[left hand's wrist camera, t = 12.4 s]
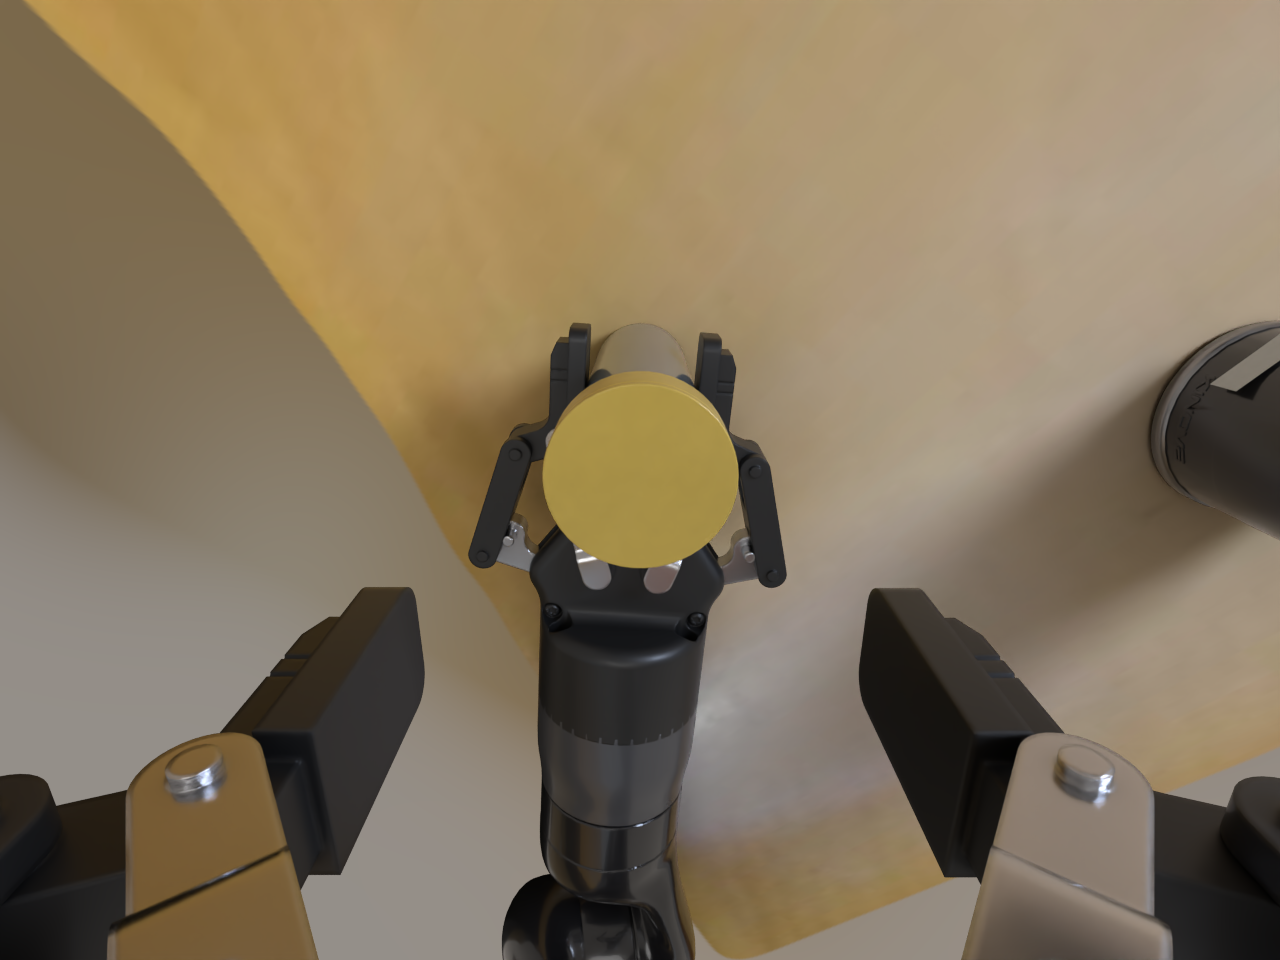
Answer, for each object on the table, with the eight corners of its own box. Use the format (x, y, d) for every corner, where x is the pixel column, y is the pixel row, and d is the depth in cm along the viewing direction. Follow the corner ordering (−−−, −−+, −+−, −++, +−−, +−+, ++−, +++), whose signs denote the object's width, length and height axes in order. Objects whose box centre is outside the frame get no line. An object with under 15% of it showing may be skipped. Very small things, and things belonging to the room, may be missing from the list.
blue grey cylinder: (580, 388, 34) (535, 506, 20) (620, 306, 33) (604, 369, 18) (659, 427, 35) (672, 570, 20) (702, 349, 33) (748, 442, 19)
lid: (521, 496, 21) (510, 519, 19) (598, 337, 19) (595, 347, 18) (677, 568, 22) (680, 597, 20) (764, 422, 20) (775, 440, 18)
